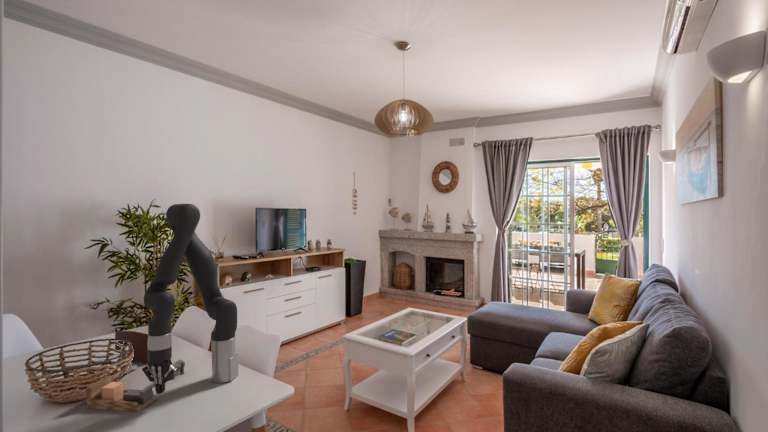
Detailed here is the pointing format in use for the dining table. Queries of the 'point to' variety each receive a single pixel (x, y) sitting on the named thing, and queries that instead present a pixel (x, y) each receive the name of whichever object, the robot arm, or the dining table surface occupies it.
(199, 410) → the dining table surface
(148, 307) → the robot arm
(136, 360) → the letter holder
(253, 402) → the dining table surface
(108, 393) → the block
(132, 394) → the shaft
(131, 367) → the ceramic mug
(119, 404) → the wooden tray
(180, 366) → the rhino figurine
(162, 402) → the dining table surface
